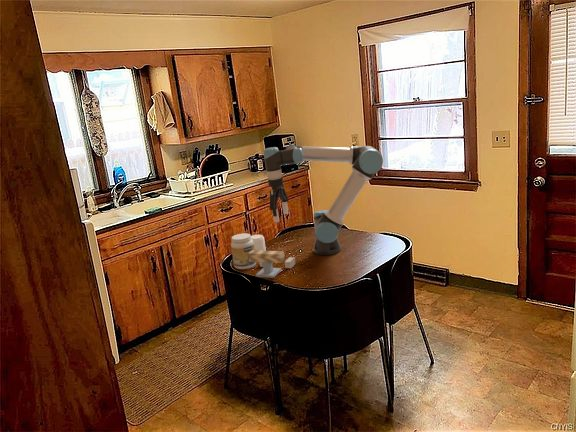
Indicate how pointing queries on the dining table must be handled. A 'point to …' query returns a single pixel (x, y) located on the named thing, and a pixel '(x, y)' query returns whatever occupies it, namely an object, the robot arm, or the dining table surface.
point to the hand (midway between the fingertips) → (281, 217)
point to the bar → (266, 256)
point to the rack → (286, 262)
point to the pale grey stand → (268, 270)
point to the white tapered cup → (258, 242)
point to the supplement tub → (242, 250)
